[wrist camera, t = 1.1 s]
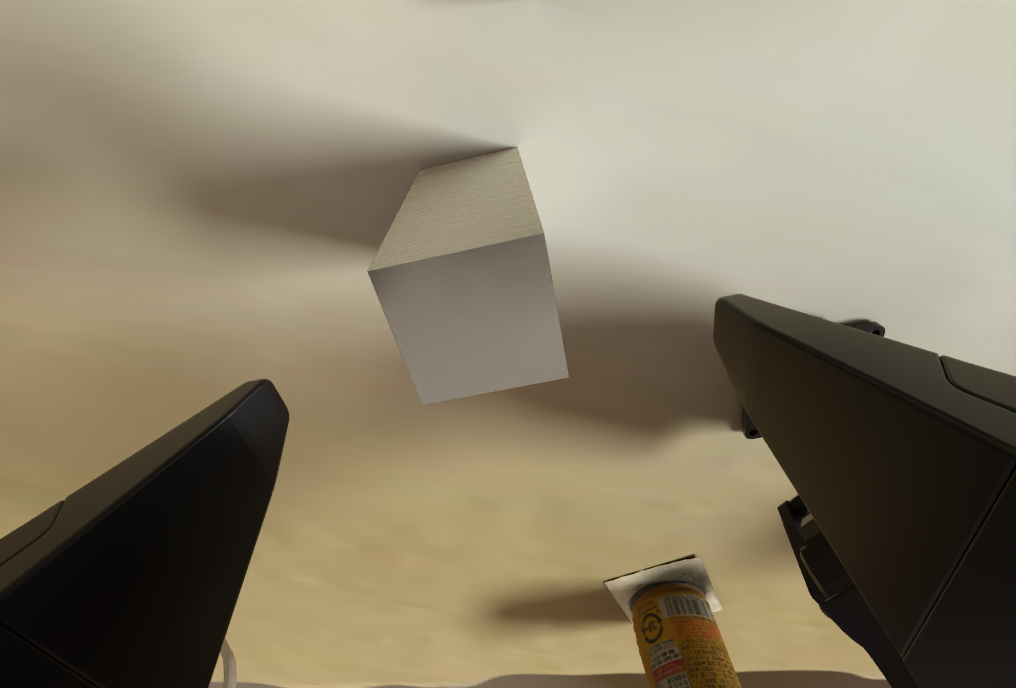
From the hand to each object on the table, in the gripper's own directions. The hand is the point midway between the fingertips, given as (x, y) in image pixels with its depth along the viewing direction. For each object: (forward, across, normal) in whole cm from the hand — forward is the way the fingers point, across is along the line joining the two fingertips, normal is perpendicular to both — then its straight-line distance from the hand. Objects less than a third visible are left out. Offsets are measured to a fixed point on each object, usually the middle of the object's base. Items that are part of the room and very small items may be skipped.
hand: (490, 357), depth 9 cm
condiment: (+12, -7, +33) cm, 36 cm away
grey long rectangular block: (+12, 0, 0) cm, 12 cm away
